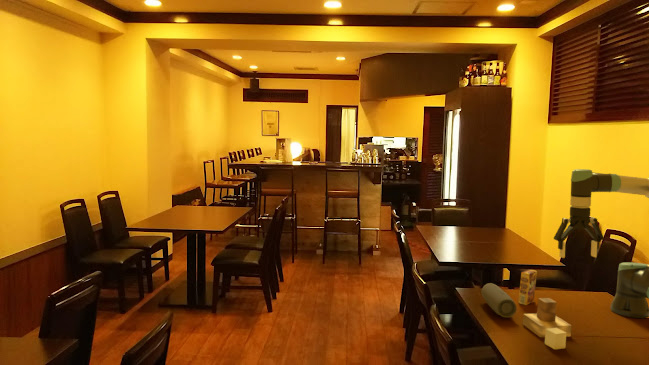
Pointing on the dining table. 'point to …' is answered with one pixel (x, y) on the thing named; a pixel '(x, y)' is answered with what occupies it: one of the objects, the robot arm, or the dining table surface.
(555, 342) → the stoneware cube
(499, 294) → the bluetooth speaker
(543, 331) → the beech block
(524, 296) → the candy box
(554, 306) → the walnut block
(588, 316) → the dining table surface
